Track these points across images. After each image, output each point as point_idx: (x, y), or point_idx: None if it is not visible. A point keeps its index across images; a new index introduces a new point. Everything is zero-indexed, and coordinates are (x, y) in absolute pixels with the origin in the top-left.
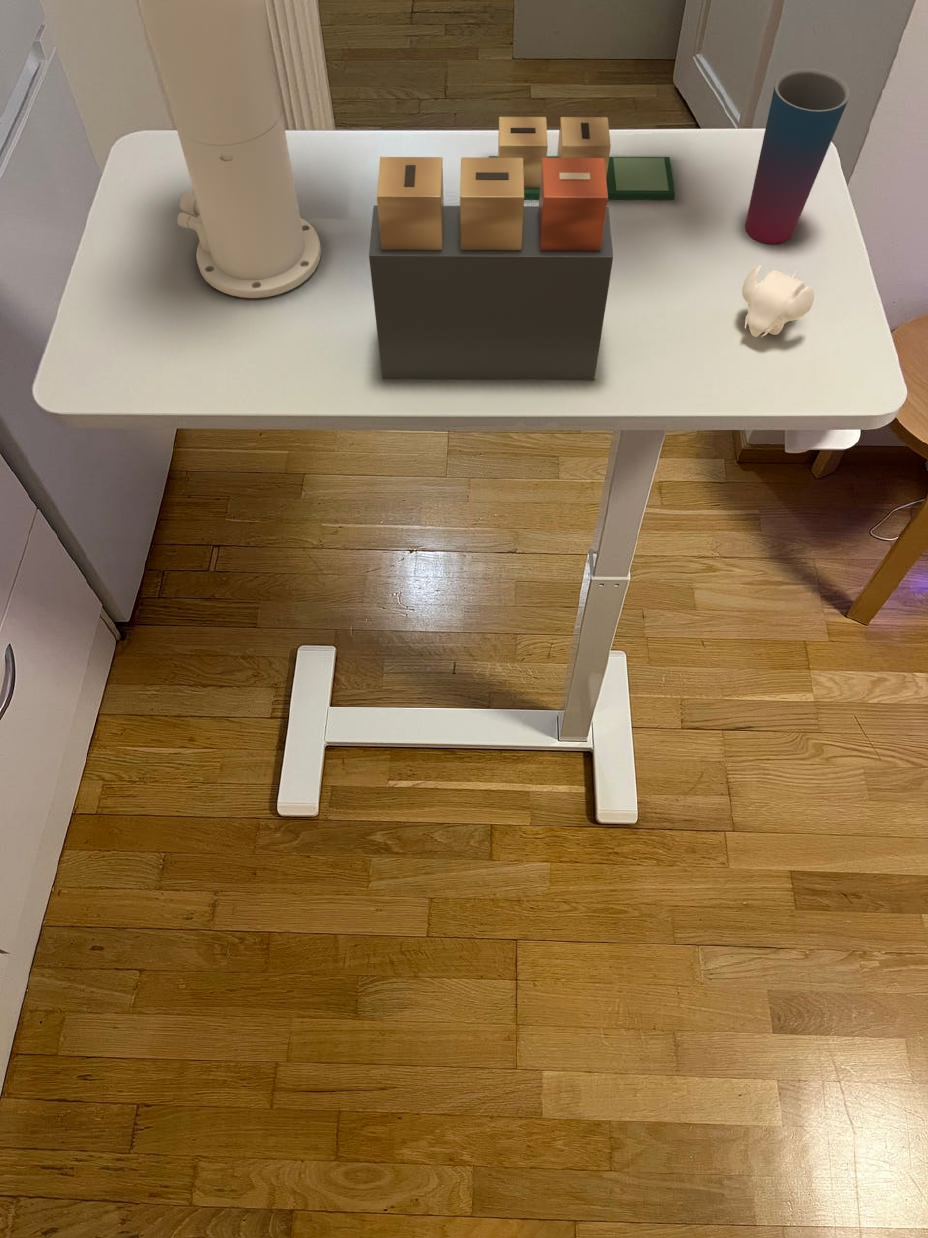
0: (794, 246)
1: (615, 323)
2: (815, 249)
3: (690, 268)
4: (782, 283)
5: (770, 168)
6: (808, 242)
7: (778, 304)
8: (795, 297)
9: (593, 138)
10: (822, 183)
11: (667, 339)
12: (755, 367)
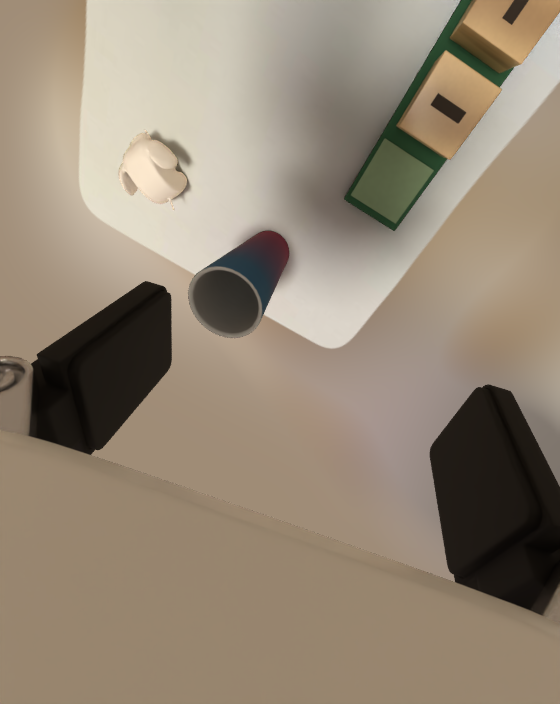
0: None
1: (211, 3)
2: None
3: (254, 148)
4: (140, 173)
5: (240, 247)
6: None
7: (124, 155)
8: (121, 171)
9: (427, 111)
10: (295, 322)
11: (176, 55)
12: (128, 124)
